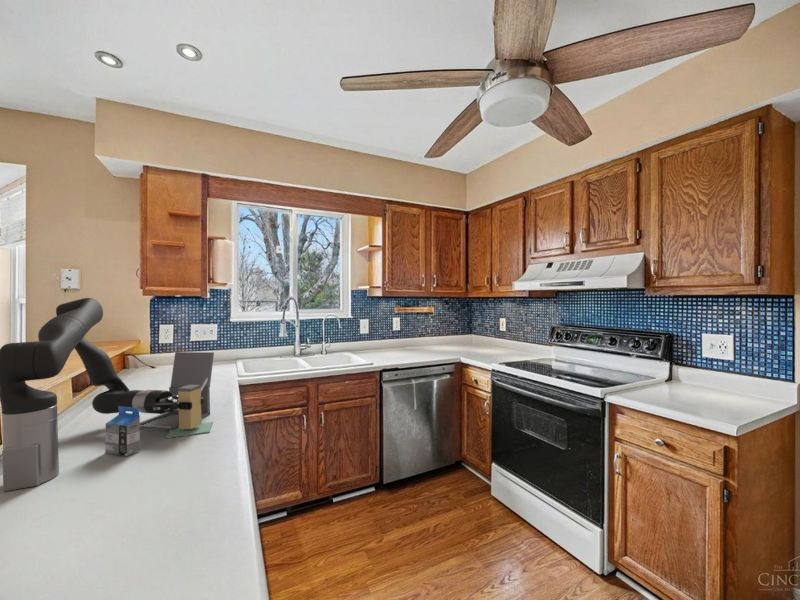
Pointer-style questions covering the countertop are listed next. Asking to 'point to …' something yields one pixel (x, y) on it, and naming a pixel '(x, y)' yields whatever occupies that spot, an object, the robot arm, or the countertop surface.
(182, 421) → the block
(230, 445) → the countertop surface
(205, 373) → the case
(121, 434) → the label tape box
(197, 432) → the mat
